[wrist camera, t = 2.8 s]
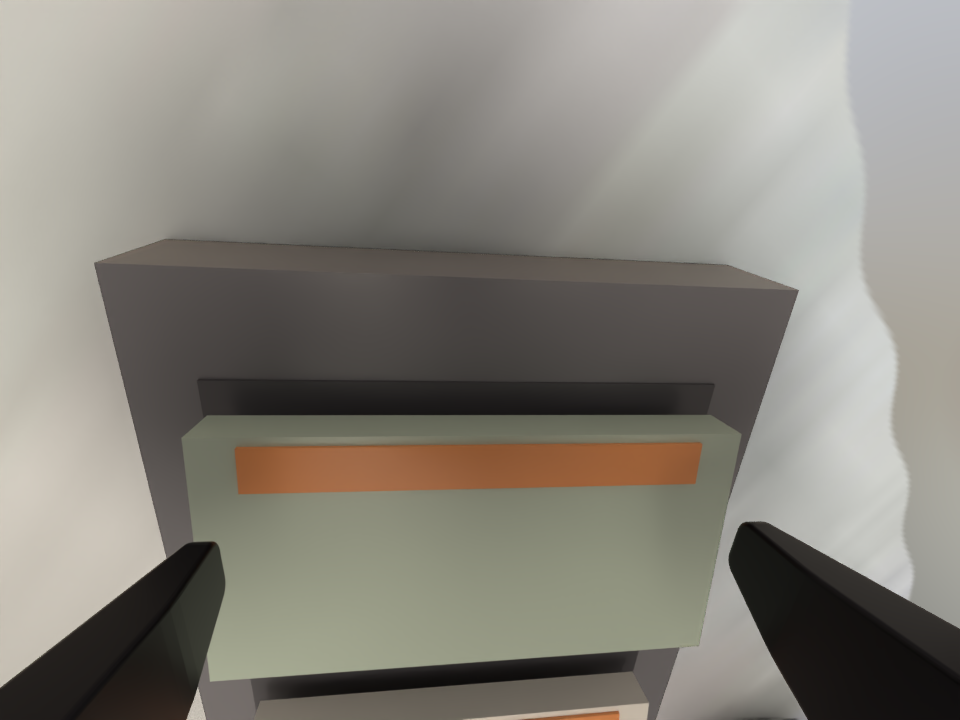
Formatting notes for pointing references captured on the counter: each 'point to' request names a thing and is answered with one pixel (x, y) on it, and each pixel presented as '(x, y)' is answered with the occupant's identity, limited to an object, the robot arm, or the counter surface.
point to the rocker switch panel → (425, 373)
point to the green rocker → (455, 536)
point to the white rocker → (478, 702)
